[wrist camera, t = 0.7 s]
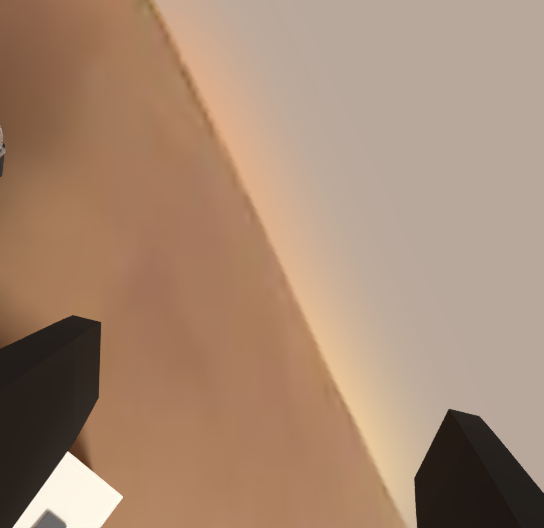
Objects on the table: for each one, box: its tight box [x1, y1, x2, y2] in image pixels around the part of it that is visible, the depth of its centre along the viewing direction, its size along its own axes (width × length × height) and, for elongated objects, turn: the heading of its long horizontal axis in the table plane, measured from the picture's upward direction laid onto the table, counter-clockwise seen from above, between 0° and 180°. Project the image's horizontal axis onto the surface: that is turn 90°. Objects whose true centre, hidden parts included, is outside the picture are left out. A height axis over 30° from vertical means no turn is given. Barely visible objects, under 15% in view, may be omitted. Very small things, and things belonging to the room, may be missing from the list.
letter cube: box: [13, 451, 123, 528], centre depth 16 cm, size 5×5×5 cm
